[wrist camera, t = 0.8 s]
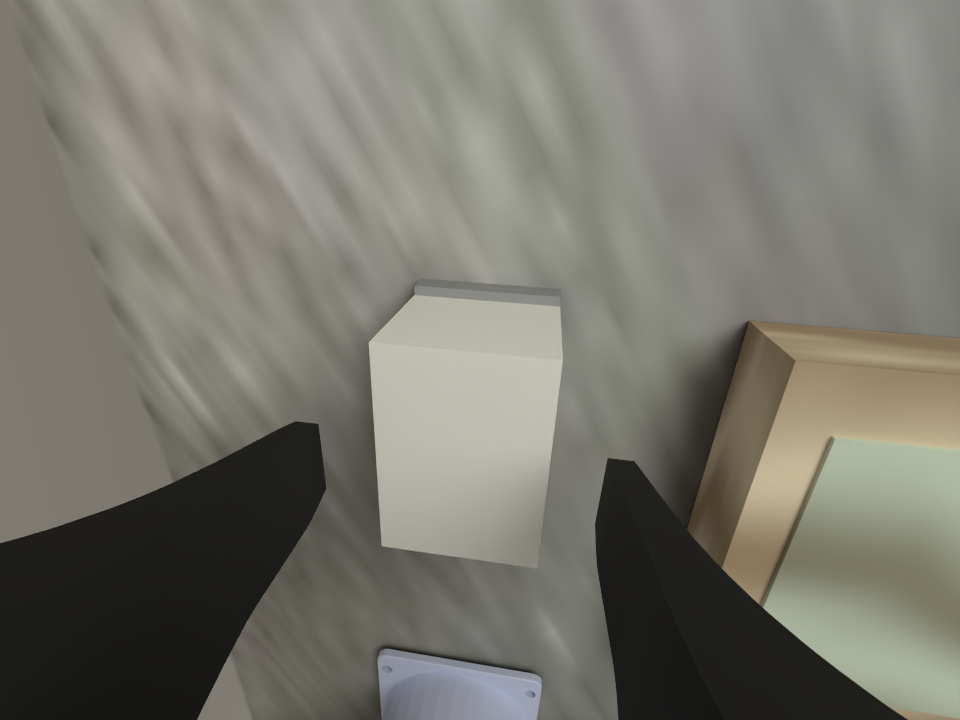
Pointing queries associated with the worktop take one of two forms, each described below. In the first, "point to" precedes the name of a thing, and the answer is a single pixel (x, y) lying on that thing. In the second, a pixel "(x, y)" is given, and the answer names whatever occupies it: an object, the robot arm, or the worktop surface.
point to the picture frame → (846, 502)
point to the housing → (467, 419)
